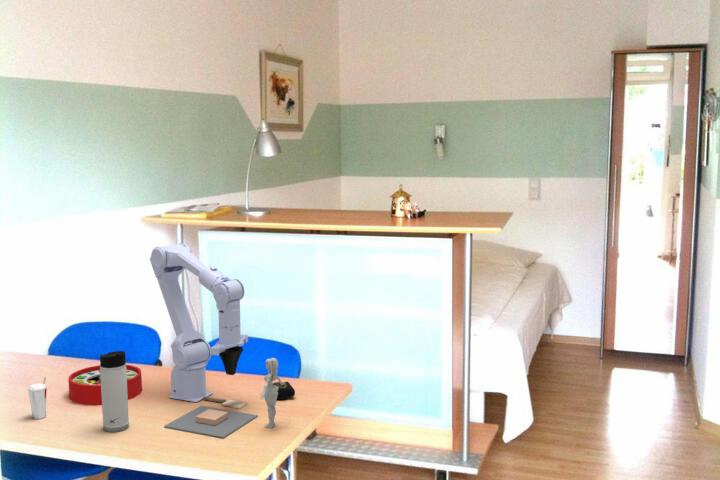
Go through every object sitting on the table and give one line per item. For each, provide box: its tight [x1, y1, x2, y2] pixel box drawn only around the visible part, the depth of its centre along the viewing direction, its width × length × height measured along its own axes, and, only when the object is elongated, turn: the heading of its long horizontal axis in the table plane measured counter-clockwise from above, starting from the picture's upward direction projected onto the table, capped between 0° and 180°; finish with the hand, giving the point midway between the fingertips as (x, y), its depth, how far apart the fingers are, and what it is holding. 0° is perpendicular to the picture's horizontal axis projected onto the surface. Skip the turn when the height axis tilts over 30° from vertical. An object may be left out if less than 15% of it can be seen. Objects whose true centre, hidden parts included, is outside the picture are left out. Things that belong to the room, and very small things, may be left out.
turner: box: [202, 396, 249, 410], centre depth 210 cm, size 13×4×1 cm, turn 66°
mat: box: [163, 405, 259, 440], centre depth 196 cm, size 18×16×1 cm
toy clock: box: [67, 364, 143, 406], centre depth 218 cm, size 20×6×20 cm
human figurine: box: [259, 357, 284, 429], centre depth 191 cm, size 12×4×18 cm, turn 160°
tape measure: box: [272, 381, 296, 400], centre depth 215 cm, size 7×7×4 cm
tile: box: [195, 409, 228, 426], centre depth 196 cm, size 6×2×6 cm
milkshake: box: [27, 376, 48, 420], centre depth 199 cm, size 4×5×10 cm
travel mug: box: [99, 350, 130, 433], centre depth 191 cm, size 6×7×20 cm
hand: (230, 374), depth 204 cm, fingers closed
